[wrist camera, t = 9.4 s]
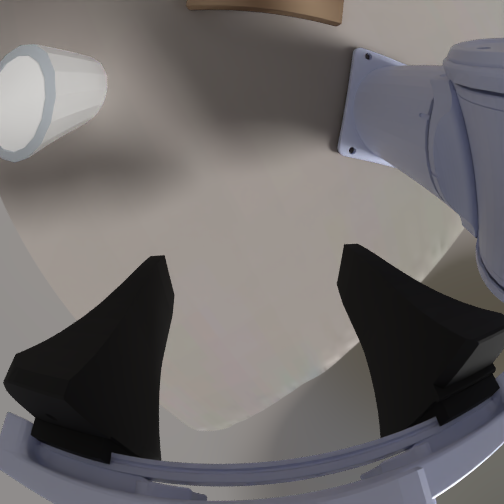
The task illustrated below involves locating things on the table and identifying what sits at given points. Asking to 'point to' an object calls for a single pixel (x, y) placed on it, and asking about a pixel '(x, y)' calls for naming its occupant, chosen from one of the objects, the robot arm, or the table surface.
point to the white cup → (45, 97)
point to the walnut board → (280, 8)
